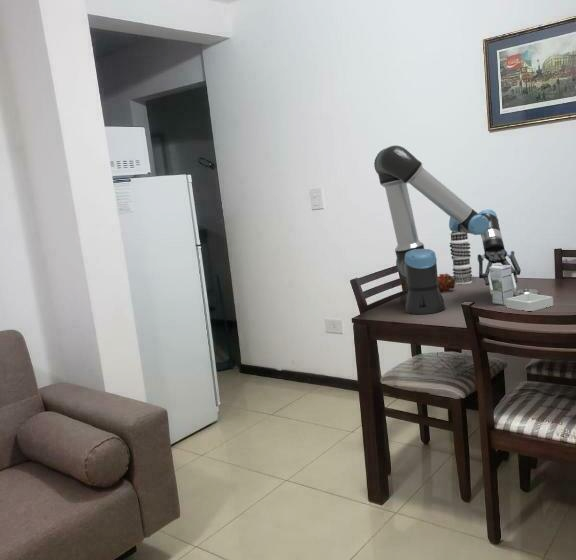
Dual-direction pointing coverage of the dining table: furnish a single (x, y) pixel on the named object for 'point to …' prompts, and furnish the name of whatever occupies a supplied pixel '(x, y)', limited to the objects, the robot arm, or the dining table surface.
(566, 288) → the dining table surface
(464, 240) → the decorative candle
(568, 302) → the dining table surface
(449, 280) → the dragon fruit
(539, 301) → the tray
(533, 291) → the desk bell
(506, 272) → the syrup box
